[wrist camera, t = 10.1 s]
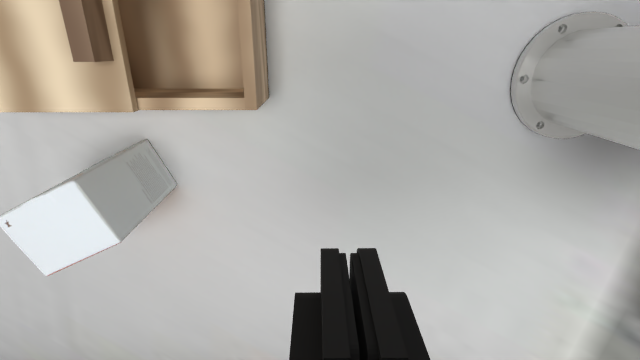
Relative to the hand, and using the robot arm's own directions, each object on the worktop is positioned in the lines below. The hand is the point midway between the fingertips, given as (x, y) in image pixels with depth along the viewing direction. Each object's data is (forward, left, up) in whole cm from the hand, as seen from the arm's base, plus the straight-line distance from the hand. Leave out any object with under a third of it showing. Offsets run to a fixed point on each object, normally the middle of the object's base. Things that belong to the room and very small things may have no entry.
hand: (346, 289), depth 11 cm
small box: (+22, +7, -29) cm, 37 cm away
